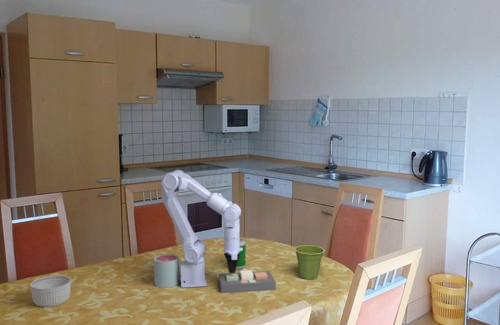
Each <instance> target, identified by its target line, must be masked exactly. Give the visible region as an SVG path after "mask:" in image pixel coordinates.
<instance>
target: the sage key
mask: <svg viewBox="0 0 500 325" xmlns="http://www.w3.org/2000/svg"><path fill="white" fill-rule="evenodd" d="M226 281H239V277H238V274H226Z"/></svg>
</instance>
